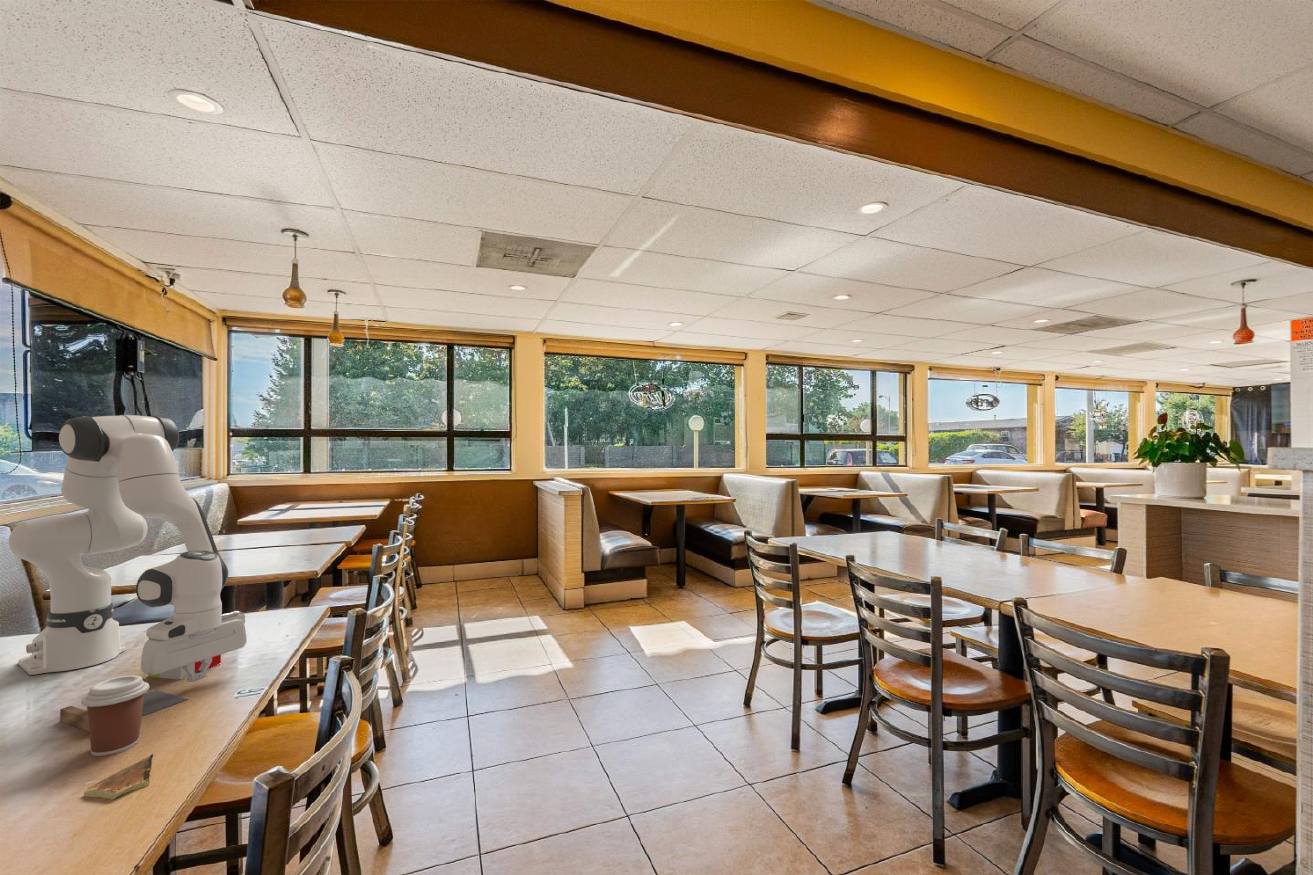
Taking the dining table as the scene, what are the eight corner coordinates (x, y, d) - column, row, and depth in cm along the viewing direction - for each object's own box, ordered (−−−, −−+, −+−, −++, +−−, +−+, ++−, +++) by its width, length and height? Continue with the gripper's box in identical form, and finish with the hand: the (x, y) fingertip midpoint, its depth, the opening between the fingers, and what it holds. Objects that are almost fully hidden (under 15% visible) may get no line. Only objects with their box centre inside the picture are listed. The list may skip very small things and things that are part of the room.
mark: (87, 713, 117) (87, 712, 117) (156, 690, 128) (156, 689, 128) (119, 724, 112) (119, 723, 112) (187, 699, 123) (187, 698, 123)
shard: (152, 761, 100) (152, 751, 100) (188, 765, 98) (188, 755, 98) (81, 799, 89) (81, 788, 89) (120, 804, 88) (120, 793, 88)
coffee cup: (149, 729, 110) (150, 668, 110) (147, 747, 103) (148, 683, 104) (83, 745, 104) (84, 681, 104) (77, 766, 97) (78, 697, 98)
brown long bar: (60, 721, 113) (60, 709, 113) (70, 717, 115) (70, 705, 115) (97, 734, 108) (97, 721, 108) (108, 730, 110) (108, 717, 110)
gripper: (236, 607, 141) (235, 661, 141) (137, 631, 122) (136, 694, 122) (252, 610, 139) (252, 665, 139) (154, 635, 120) (152, 699, 120)
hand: (196, 679), depth 130 cm, fingers closed
